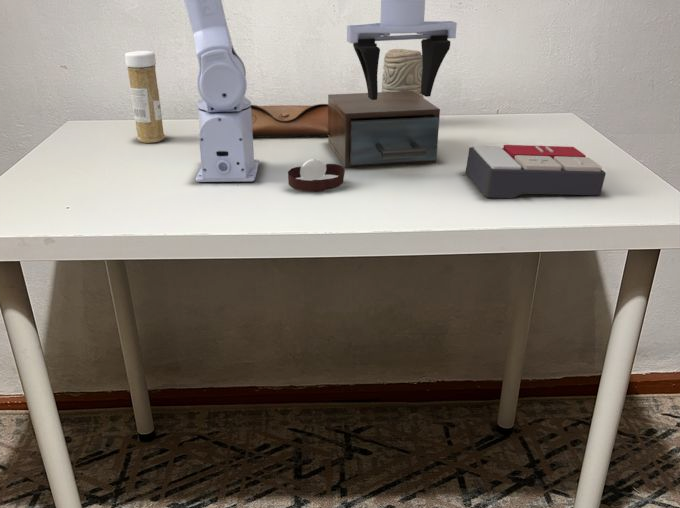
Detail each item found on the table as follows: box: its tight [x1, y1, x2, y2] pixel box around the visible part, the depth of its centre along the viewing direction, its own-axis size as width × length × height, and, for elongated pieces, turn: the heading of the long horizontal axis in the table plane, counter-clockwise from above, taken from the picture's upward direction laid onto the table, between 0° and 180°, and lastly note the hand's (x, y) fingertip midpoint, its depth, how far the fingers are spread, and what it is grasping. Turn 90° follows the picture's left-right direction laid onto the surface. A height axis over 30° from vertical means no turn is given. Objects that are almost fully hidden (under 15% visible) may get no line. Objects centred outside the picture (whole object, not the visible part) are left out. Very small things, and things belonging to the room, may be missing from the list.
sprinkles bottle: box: [124, 50, 166, 144], centre depth 112 cm, size 5×5×13 cm
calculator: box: [465, 144, 607, 199], centre depth 93 cm, size 11×4×15 cm
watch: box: [287, 157, 346, 193], centre depth 92 cm, size 8×5×4 cm, turn 107°
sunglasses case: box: [251, 103, 328, 138], centre depth 118 cm, size 18×7×7 cm
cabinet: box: [327, 91, 441, 169], centre depth 106 cm, size 14×14×8 cm
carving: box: [381, 48, 425, 99], centre depth 121 cm, size 6×8×12 cm
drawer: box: [350, 115, 440, 165], centre depth 101 cm, size 18×12×6 cm
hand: (399, 96), depth 97 cm, fingers open, 7 cm apart
